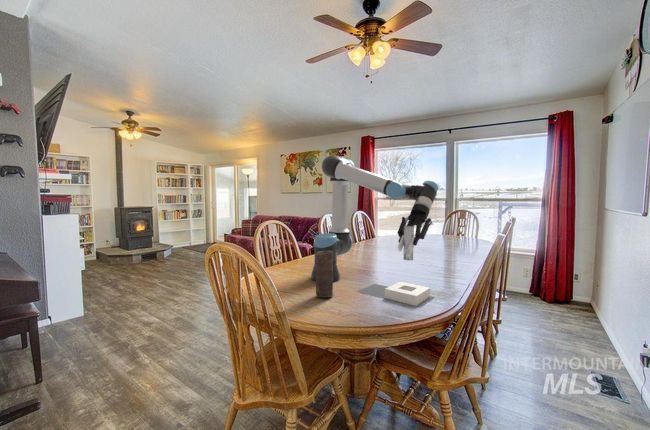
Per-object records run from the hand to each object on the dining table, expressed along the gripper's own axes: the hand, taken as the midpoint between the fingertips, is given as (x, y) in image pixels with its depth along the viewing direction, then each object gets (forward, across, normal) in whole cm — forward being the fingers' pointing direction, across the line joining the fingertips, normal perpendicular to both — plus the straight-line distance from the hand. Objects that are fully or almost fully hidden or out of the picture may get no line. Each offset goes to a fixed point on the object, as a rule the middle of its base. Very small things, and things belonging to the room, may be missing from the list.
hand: (404, 249), depth 125 cm
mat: (+13, +6, -18) cm, 23 cm away
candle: (+28, +28, -2) cm, 40 cm away
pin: (+1, 0, -6) cm, 6 cm away
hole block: (+12, 0, -17) cm, 21 cm away
